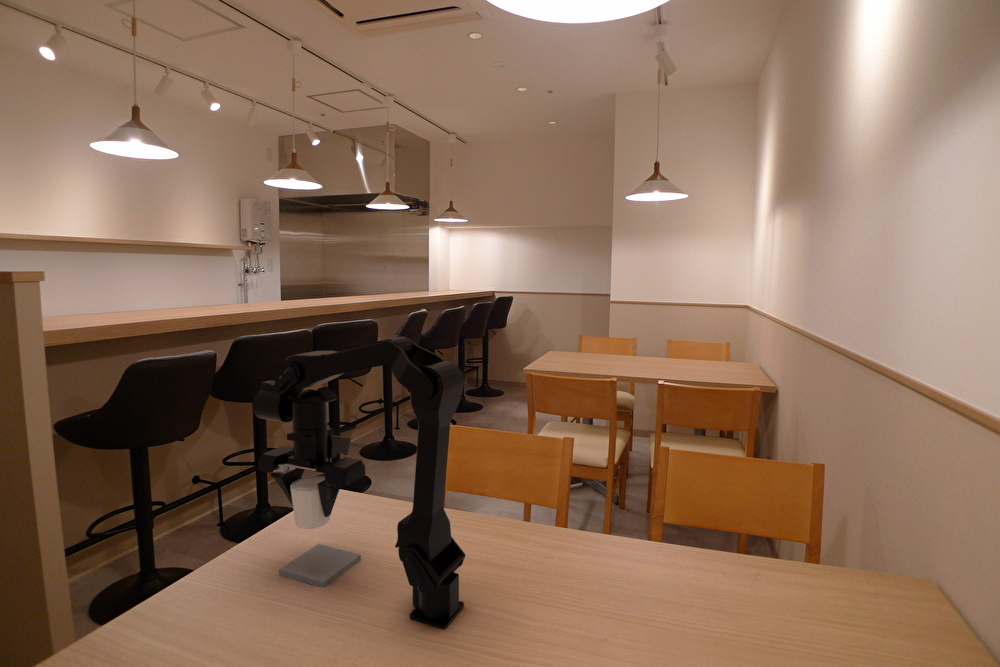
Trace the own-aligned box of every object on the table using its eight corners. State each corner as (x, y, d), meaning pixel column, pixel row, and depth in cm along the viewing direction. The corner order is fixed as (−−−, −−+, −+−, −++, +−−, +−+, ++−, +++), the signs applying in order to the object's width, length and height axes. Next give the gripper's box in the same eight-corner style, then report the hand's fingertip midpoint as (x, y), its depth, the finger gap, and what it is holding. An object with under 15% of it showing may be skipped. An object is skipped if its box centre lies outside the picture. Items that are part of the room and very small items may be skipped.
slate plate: (360, 559, 100) (360, 554, 100) (323, 588, 91) (323, 582, 91) (318, 548, 104) (318, 543, 104) (279, 574, 95) (278, 569, 95)
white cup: (339, 513, 97) (338, 476, 96) (323, 531, 90) (322, 491, 89) (302, 511, 97) (300, 474, 96) (284, 529, 90) (282, 489, 90)
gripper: (383, 419, 96) (384, 503, 97) (300, 409, 103) (303, 487, 104) (343, 437, 85) (345, 530, 87) (254, 423, 92) (257, 510, 94)
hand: (312, 512), depth 93 cm, fingers closed on white cup, 6 cm apart
